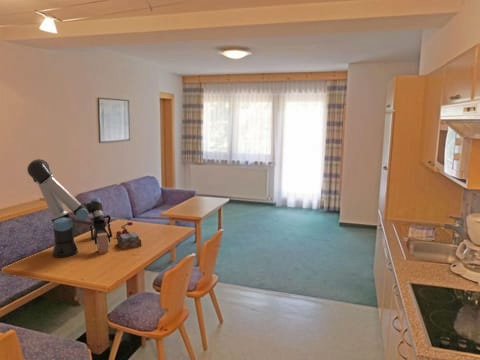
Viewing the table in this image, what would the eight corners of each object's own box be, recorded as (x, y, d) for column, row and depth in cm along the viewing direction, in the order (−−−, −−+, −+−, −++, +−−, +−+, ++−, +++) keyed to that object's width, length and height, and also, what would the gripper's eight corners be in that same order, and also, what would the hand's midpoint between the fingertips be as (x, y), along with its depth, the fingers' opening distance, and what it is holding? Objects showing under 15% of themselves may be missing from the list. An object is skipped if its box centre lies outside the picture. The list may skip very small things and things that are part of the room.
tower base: (121, 249, 252) (120, 239, 251) (117, 243, 264) (117, 234, 263) (141, 245, 258) (141, 236, 257) (137, 240, 270) (136, 231, 269)
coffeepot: (90, 238, 277) (89, 215, 274) (90, 235, 285) (89, 212, 283) (112, 235, 282) (110, 213, 280) (111, 232, 291) (110, 210, 288)
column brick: (99, 253, 244) (97, 236, 242) (97, 250, 250) (96, 233, 248) (108, 251, 247) (107, 234, 245) (107, 249, 252) (105, 232, 251)
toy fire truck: (115, 237, 279) (115, 225, 278) (130, 233, 290) (130, 221, 288) (118, 238, 277) (117, 225, 276) (133, 233, 288) (132, 221, 286)
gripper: (112, 219, 263) (117, 247, 252) (84, 222, 255) (88, 252, 243) (113, 213, 258) (118, 242, 246) (84, 217, 249) (88, 246, 237)
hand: (103, 247), depth 245 cm, fingers closed on column brick, 6 cm apart
